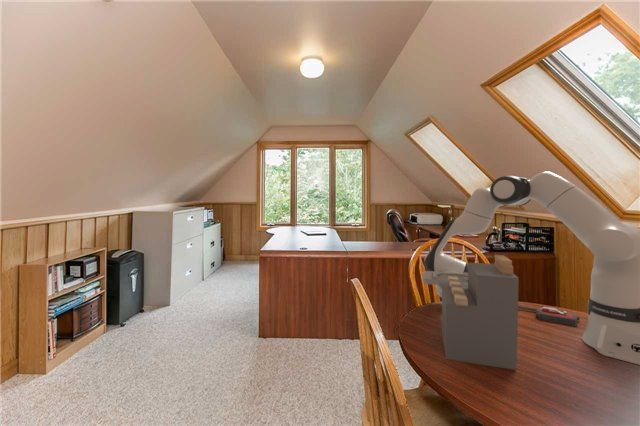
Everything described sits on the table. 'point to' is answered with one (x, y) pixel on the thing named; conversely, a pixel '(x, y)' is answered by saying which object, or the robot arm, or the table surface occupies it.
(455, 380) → the table surface
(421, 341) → the table surface
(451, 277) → the birch strip
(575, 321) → the walkie-talkie
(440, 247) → the robot arm
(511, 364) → the grey stepped block
